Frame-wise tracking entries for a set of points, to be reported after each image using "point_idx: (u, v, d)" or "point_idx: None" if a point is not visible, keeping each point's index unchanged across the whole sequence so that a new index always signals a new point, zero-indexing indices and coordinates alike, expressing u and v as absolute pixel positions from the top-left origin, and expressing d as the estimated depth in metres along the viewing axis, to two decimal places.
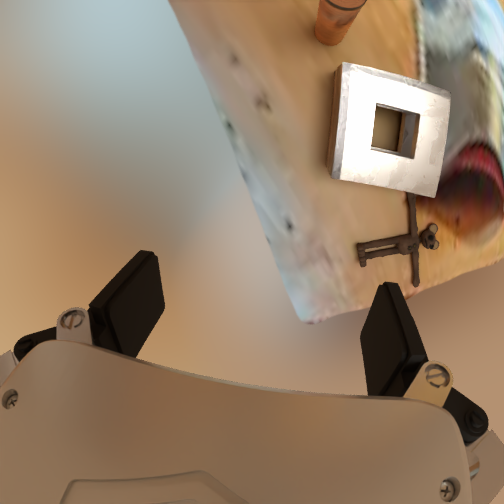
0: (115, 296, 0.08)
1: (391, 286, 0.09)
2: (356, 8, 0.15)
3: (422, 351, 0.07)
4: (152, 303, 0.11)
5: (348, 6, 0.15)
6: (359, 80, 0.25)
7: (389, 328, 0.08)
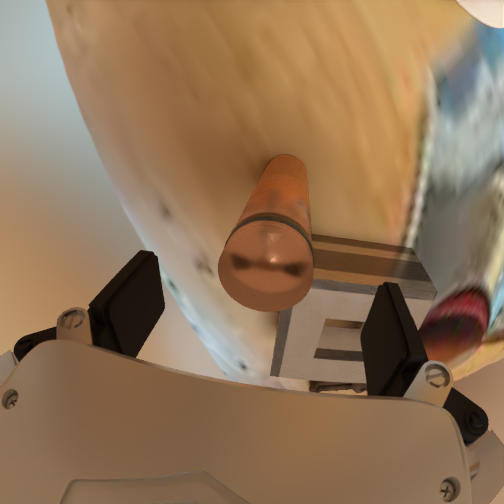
0: (115, 296, 0.08)
1: (391, 286, 0.09)
2: None
3: (422, 351, 0.07)
4: (152, 303, 0.11)
5: None
6: (306, 296, 0.23)
7: (389, 328, 0.08)
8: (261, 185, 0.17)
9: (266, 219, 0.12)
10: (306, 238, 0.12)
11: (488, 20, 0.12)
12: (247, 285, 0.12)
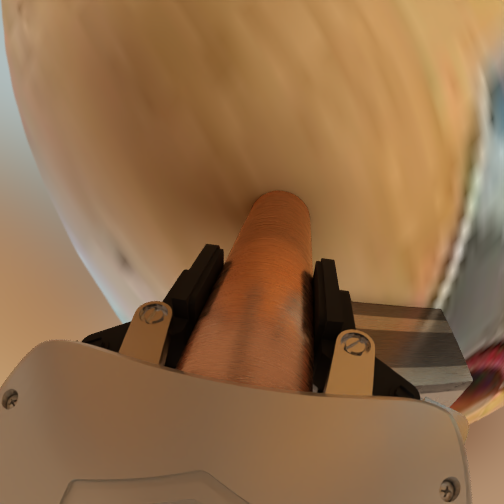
0: (196, 288, 0.09)
1: (326, 262, 0.11)
2: None
3: (340, 318, 0.08)
4: None
5: None
6: None
7: (316, 299, 0.10)
8: (226, 279, 0.09)
9: None
10: None
11: None
12: None
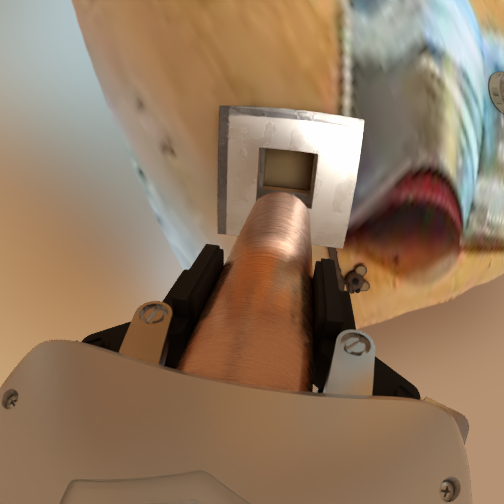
0: (196, 288, 0.09)
1: (326, 262, 0.11)
2: None
3: (340, 318, 0.08)
4: None
5: None
6: (238, 124, 0.25)
7: (316, 299, 0.10)
8: (225, 281, 0.09)
9: None
10: None
11: None
12: None
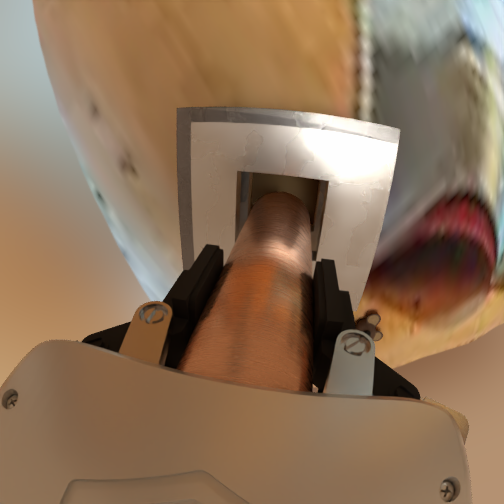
0: (196, 288, 0.09)
1: (326, 262, 0.11)
2: None
3: (340, 318, 0.08)
4: None
5: None
6: (205, 135, 0.16)
7: (316, 299, 0.10)
8: (226, 281, 0.09)
9: None
10: None
11: None
12: None
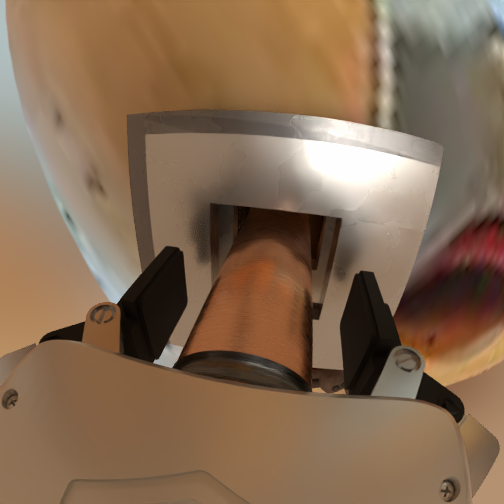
0: (146, 290, 0.09)
1: (366, 274, 0.10)
2: None
3: (391, 335, 0.07)
4: (177, 298, 0.11)
5: None
6: (165, 152, 0.11)
7: (362, 314, 0.09)
8: (237, 251, 0.11)
9: (225, 378, 0.05)
10: None
11: None
12: None
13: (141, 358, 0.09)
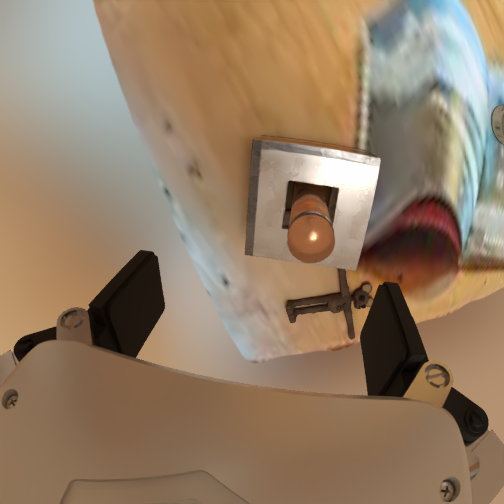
0: (115, 296, 0.08)
1: (391, 286, 0.09)
2: None
3: (422, 351, 0.07)
4: (152, 303, 0.11)
5: None
6: (270, 158, 0.29)
7: (389, 328, 0.08)
8: (300, 197, 0.29)
9: (312, 214, 0.23)
10: (331, 224, 0.23)
11: None
12: (301, 247, 0.23)
13: None
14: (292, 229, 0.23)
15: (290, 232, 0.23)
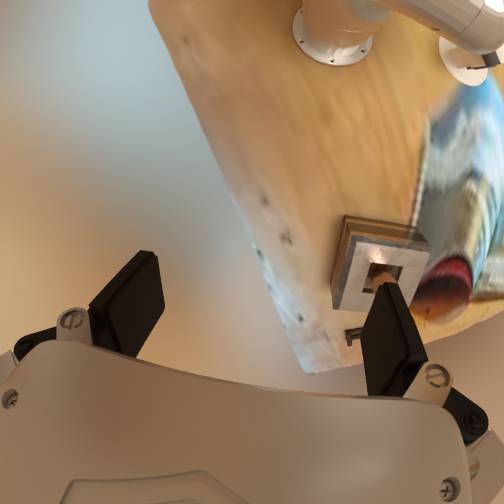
0: (115, 296, 0.08)
1: (391, 286, 0.09)
2: None
3: (422, 351, 0.07)
4: (152, 303, 0.11)
5: None
6: (361, 247, 0.40)
7: (389, 328, 0.08)
8: (380, 276, 0.39)
9: None
10: None
11: (469, 81, 0.29)
12: None
13: None
14: None
15: None
